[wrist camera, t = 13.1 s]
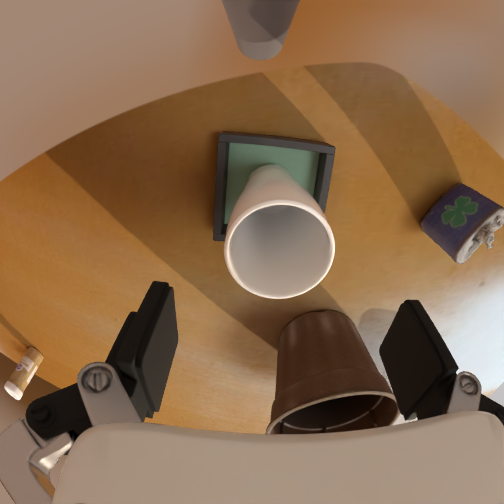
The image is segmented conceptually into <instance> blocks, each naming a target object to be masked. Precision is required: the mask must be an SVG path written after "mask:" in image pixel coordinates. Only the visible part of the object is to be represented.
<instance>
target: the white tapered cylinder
mask: <svg viewBox="0 0 504 504" xmlns="http://www.w3.org/2000/svg"><path fill="white" fill-rule="evenodd" d="M334 254H335V242H334V236H333V233H332V230H331V228H330V226H329V223H328V221H327V219H326V217H325V215H324V213H323V211H322V209H321V208H320V206H319V205H318V203H317V202H316V200H315V199H314V198H313V197H312V195H311V194H310V193H309V192H308V191H307V190H306V189H305V188H304V187H303V186H302V185H301V184H300V183H299V182H298V181H297V180H296V179H295V178H294V177H293V175H292V174H291V173H290V172H289V171H288V170H287V169H285V168H284V167H282V166H279V165H275V164H267V165H263V166H260V167H258V168H257V169H255V170H254V171H253V172H252V173H251V174H250V176H249V177H248V179H247V182H246V185H245V187H244V189H243V191H242V192H241V194H240V196H239V198H238V199H237V201H236V203H235V205H234V207H233V209H232V212H231V215H230V218H229V221H228V225H227V230H226V236H225V243H224V258H225V262H226V265H227V268H228V270H229V272H230V274H231V275H232V277H233V278H234V279H235V280H236V282H237V283H238V284H239V285H241V286H242V287H243V288H244V289H246V290H248V291H249V292H251V293H253V294H256V295H258V296H262V297H266V298H272V299H283V298H290V297H294V296H298V295H300V294H303V293H305V292H307V291H309V290H310V289H312V288H313V287H315V286H316V285H317V284H318V283H319V282H320V281H321V280H322V279H323V278H324V277H325V275H326V274H327V273H328V271H329V269H330V267H331V265H332V262H333V259H334Z"/></svg>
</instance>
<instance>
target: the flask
mask: <svg viewBox="0 0 504 504" xmlns="http://www.w3.org/2000/svg"><path fill="white" fill-rule="evenodd" d="M503 223H504V208H503V207H502V206H500V205H498V204H497V203H495V202H493V201H492V200H490V199H489V198H487V197H485V196H483V195H481V194H480V193H478V192H477V191H475V190H473V189H472V188H470V187H468V186H466V185H464V184H462V183H458V184H456V185H454V186H453V187H452V188H450V189H449V190H448V191H446V192H445V193H444V194H443V195H442V196H441V197H440V199H439V200H437V201H436V202H435V204H434V205H433V206H432V207H431V208H430V209H429V210H428V211H427V212H426V213H425V214H424V217H423V218H422V220H421V222H420V226H421V227H422V231H423V232H424V233H426V234H427V235H428V236H429V237H430V238H432V239H433V241H434V242H435V243H437V244H438V245H439V246H440V247H441V248H442V249H443V250H444V251H445V252H447V253H448V254H449V255H450V256H451V258H452V259H453V260H454V261H455V262H456V263H458V264H463V263H465V262H466V261H467V260H468V259H469V258H470V256H471V255H472V254H473V253H474V251H475V250H476V249H477V248H478V247H479V246H480V245H481V244H482V243H483V242H484V243H485V244H487V249H490V248H493V245H490V244H491V243H492V242H493V241H494V238H495V237H493V236H494V233H493V232H494V231H496V230H497V229H499V228H501V227H502V225H503Z"/></svg>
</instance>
